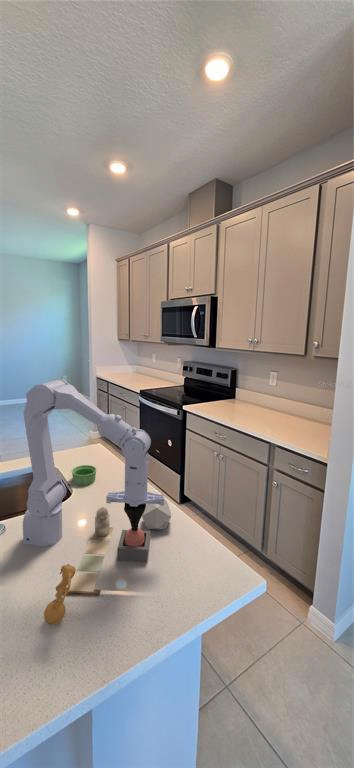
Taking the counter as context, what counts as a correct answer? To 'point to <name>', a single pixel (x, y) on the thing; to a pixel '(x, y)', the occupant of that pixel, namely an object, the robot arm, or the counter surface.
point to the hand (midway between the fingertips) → (135, 528)
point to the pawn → (102, 522)
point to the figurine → (59, 596)
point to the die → (156, 516)
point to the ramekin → (84, 474)
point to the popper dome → (134, 538)
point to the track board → (90, 567)
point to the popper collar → (133, 549)
